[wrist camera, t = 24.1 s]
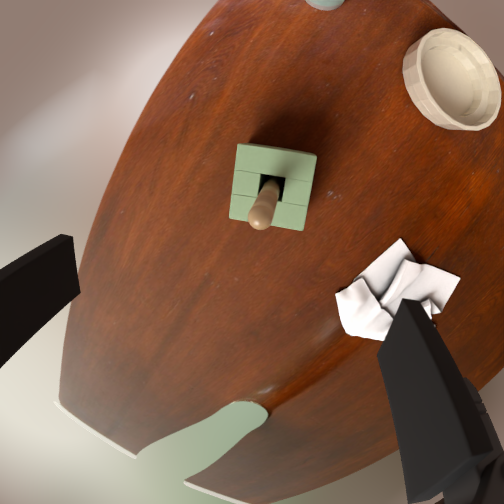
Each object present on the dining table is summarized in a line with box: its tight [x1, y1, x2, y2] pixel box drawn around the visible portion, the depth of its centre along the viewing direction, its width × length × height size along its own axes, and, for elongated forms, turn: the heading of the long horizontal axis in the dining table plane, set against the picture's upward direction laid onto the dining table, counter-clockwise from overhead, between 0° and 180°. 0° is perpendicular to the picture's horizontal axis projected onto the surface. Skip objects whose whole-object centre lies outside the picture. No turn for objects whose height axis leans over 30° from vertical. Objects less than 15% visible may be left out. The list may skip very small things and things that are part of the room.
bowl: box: [403, 28, 501, 131], centre depth 26 cm, size 14×14×6 cm
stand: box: [229, 143, 317, 231], centre depth 35 cm, size 9×9×7 cm
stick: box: [248, 175, 282, 230], centre depth 30 cm, size 2×2×18 cm
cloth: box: [335, 238, 460, 341], centre depth 41 cm, size 20×22×2 cm
